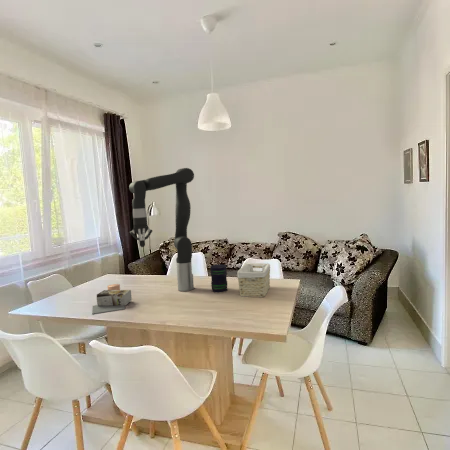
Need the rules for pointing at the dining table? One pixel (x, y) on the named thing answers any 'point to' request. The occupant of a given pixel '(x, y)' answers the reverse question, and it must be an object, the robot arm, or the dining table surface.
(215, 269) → the storage jar
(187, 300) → the dining table surface
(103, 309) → the mat
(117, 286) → the peach rounded knob
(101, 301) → the coffee box
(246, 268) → the storage basket
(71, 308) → the dining table surface
